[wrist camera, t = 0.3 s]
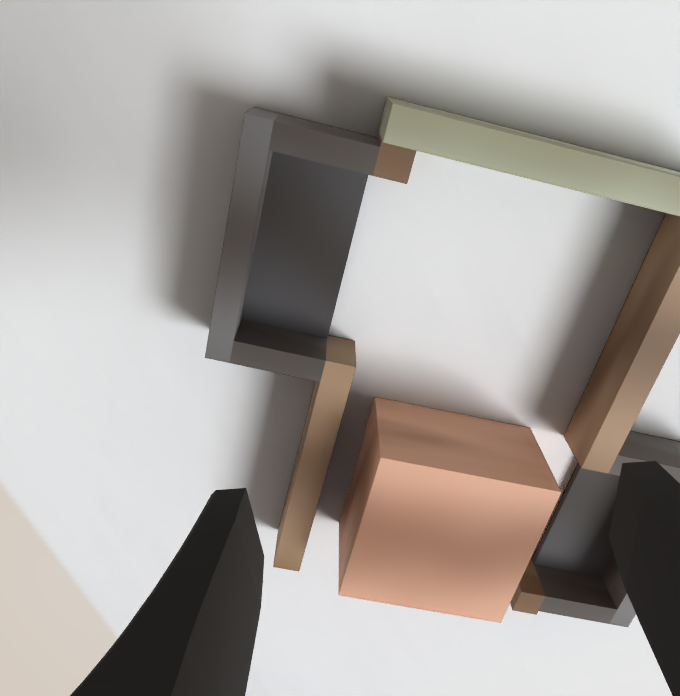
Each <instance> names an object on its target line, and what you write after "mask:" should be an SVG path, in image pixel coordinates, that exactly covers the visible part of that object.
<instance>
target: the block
mask: <svg viewBox="0 0 680 696" xmlns="http://www.w3.org/2000/svg"><path fill="white" fill-rule="evenodd" d="M560 494H561V490H560V488H559V486H558V484H557V482H556V480H555V478H554V476H553V474H552V472H551V470H550V468H549V466H548V463H547V461H546V459H545V457H544V455H543V453H542V451H541V449H540V447H539V445H538V443H537V441H536V439H535V437H534V435H533V433H532V431H531V429H530V428H528V427H523V426H518V425H513V424H508V423H503V422H498V421H493V420H488V419H483V418H478V417H473V416H468V415H463V414H458V413H453V412H448V411H443V410H438V409H433V408H428V407H423V406H418V405H413V404H408V403H403V402H398V401H393V400H388V399H383V398H378V397H375V399H374V403H373V406H372V410H371V413H370V417H369V420H368V424H367V427H366V431H365V434H364V438H363V441H362V444H361V448H360V451H359V455H358V458H357V462H356V465H355V469H354V472H353V476H352V479H351V483H350V486H349V490H348V493H347V497H346V500H345V504H344V507H343V511H342V514H341V518H340V521H339V595H340V596H346V597H352V598H357V599H363V600H369V601H375V602H381V603H387V604H393V605H399V606H405V607H410V608H416V609H422V610H428V611H434V612H440V613H446V614H452V615H458V616H463V617H469V618H475V619H481V620H487V621H493V622H499V623H501V621H502V619H503V617H504V615H505V612H506V610H507V608H508V606H509V604H510V602H511V600H512V597H513V595H514V593H515V591H516V589H517V587H518V585H519V582H520V580H521V578H522V576H523V574H524V572H525V570H526V567H527V565H528V563H529V561H530V559H531V557H532V555H533V552H534V550H535V548H536V546H537V544H538V542H539V540H540V537H541V535H542V533H543V531H544V529H545V527H546V525H547V522H548V520H549V518H550V516H551V514H552V512H553V510H554V507H555V505H556V503H557V501H558V499H559V497H560Z"/></svg>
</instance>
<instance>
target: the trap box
mask: <svg viewBox="0 0 680 696" xmlns="http://www.w3.org/2000/svg"><path fill="white" fill-rule="evenodd" d="M416 151H420V152H424V153H428V154H432V155H436V156H440V157H444V158H448V159H452V160H456V161H460V162H464V163H468V164H472V165H476V166H480V167H484V168H488V169H492V170H496V171H500V172H504V173H508V174H512V175H516V176H520V177H524V178H528V179H532V180H536V181H540V182H544V183H548V184H552V185H556V186H560V187H564V188H568V189H572V190H576V191H580V192H584V193H588V194H592V195H596V196H600V197H604V198H608V199H612V200H616V201H620V202H624V203H628V204H632V205H636V206H640V207H645V208H649V209H653V210H657V211H661V212H665V213H666V214H665V217H664V219H663V221H662V223H661V225H660V227H659V230H658V232H657V234H656V236H655V238H654V241H653V243H652V245H651V247H650V249H649V251H648V254H647V256H646V258H645V260H644V262H643V264H642V267H641V269H640V271H639V273H638V275H637V278H636V280H635V282H634V284H633V286H632V288H631V291H630V293H629V295H628V297H627V299H626V302H625V304H624V306H623V308H622V310H621V312H620V315H619V317H618V319H617V321H616V323H615V326H614V328H613V330H612V332H611V334H610V336H609V339H608V341H607V343H606V345H605V347H604V349H603V352H602V354H601V356H600V358H599V360H598V363H597V365H596V367H595V369H594V371H593V373H592V376H591V378H590V380H589V382H588V384H587V387H586V389H585V391H584V393H583V395H582V397H581V400H580V402H579V404H578V406H577V408H576V410H575V413H574V415H573V417H572V419H571V421H570V424H569V426H568V428H567V430H566V432H565V434H564V438H565V440H566V442H567V443H568V445H569V447H570V449H571V450H572V452H573V454H574V456H575V458H576V459H577V461H578V464H577V466H576V469H575V471H574V473H573V475H572V477H571V479H570V481H569V483H568V485H567V487H566V489H565V491H564V493H563V496H562V498H561V500H560V502H559V504H558V506H557V508H556V510H555V512H554V514H553V516H552V518H551V521H550V523H549V525H548V527H547V529H546V531H545V533H544V535H543V537H542V539H541V541H540V543H539V545H538V548H537V550H536V552H535V554H534V556H533V558H532V559H530V561H529V563H528V565H527V567H526V570H525V572H524V574H523V576H522V578H521V580H520V582H519V585H518V587H517V589H516V591H515V593H514V595H513V597H512V600H511V602H510V603H511V607H512V610H514V611H520V612H525V613H531V614H537V612H538V611H541V612H547V613H552V614H558V615H563V616H569V617H574V618H580V619H585V620H591V621H596V622H602V623H607V624H613V625H618V626H624V627H628V626H629V624H630V623H631V621H632V619H633V618H634V616H635V614H636V612H635V610H634V608H633V606H632V603H631V601H630V599H629V597H628V594H627V592H626V590H625V587H624V584H623V581H622V578H621V575H620V572H619V568H618V565H617V562H616V559H615V555H614V552H613V549H612V545H611V542H610V539H609V532H610V526H611V521H612V516H613V510H614V505H615V500H616V494H617V489H618V483H619V478H620V473H621V467H622V463H630V462H645V461H656V462H658V463H659V464H660V465H661V466H662V467H663V468H664V469H665V470H666V471H667V472H668V473H669V474H671V475H672V476H673V477H674V478H675V479H676V480H677V481H678V482H679V483H680V442H678V441H674V440H669V439H664V438H660V437H655V436H650V435H646V434H641V433H636V432H632V431H630V430H631V428H632V426H633V424H634V422H635V420H636V418H637V416H638V414H639V412H640V410H641V408H642V406H643V404H644V402H645V400H646V398H647V396H648V395H649V393H650V391H651V389H652V387H653V385H654V383H655V381H656V379H657V377H658V375H659V373H660V371H661V369H662V367H663V365H664V363H665V361H666V359H667V357H668V355H669V353H670V351H671V349H672V347H673V345H674V343H675V342H676V340H677V338H678V336H679V334H680V172H679V171H675V170H671V169H667V168H663V167H659V166H655V165H651V164H647V163H644V162H640V161H636V160H632V159H628V158H624V157H620V156H616V155H612V154H608V153H605V152H601V151H597V150H593V149H589V148H585V147H581V146H577V145H573V144H570V143H566V142H562V141H558V140H554V139H550V138H546V137H542V136H538V135H534V134H531V133H527V132H523V131H519V130H515V129H511V128H507V127H503V126H499V125H495V124H492V123H488V122H484V121H480V120H476V119H472V118H468V117H464V116H460V115H457V114H453V113H449V112H445V111H441V110H437V109H433V108H429V107H425V106H421V105H418V104H414V103H410V102H406V101H402V100H398V99H394V98H390V97H387V99H386V103H385V107H384V111H383V115H382V119H381V123H380V127H379V131H378V135H377V138H376V137H372V136H368V135H364V134H360V133H356V132H352V131H348V130H344V129H340V128H336V127H332V126H328V125H324V124H320V123H316V122H312V121H308V120H304V119H300V118H296V117H292V116H288V115H284V114H280V113H276V112H272V111H268V110H264V109H260V108H256V107H253V108H252V109H251V110H249V111H248V112H246V113H245V116H244V122H243V128H242V134H241V140H240V146H239V152H238V158H237V164H236V171H235V177H234V183H233V189H232V195H231V201H230V207H229V213H228V219H227V226H226V232H225V238H224V244H223V250H222V256H221V262H220V268H219V274H218V281H217V287H216V293H215V299H214V305H213V311H212V317H211V323H210V329H209V336H208V342H207V348H206V354H205V358H209V359H214V360H218V361H223V362H228V363H233V364H237V365H242V366H247V367H252V368H256V369H261V370H266V371H270V372H275V373H280V374H285V375H289V376H294V377H299V378H304V379H308V380H313V381H316V382H315V386H314V390H313V394H312V398H311V402H310V406H309V410H308V414H307V418H306V422H305V426H304V430H303V434H302V438H301V442H300V446H299V450H298V454H297V458H296V462H295V465H294V469H293V473H292V477H291V481H290V485H289V489H288V493H287V497H286V501H285V505H284V509H283V513H282V517H281V521H280V525H279V529H278V535H277V543H276V550H275V558H274V565H273V567H277V568H283V569H288V570H294V571H299V570H300V566H301V563H302V559H303V555H304V552H305V548H306V545H307V541H308V538H309V534H310V530H311V527H312V523H313V520H314V516H315V512H316V509H317V505H318V502H319V498H320V494H321V491H322V487H323V484H324V480H325V477H326V473H327V469H328V466H329V462H330V459H331V455H332V451H333V448H334V444H335V441H336V437H337V433H338V430H339V426H340V423H341V419H342V416H343V412H344V408H345V405H346V401H347V398H348V394H349V390H350V387H351V383H352V380H353V376H354V372H355V369H356V355H355V341H352V340H347V339H342V338H338V337H333V336H329V335H328V333H329V329H330V325H331V321H332V317H333V313H334V309H335V305H336V301H337V297H338V293H339V289H340V285H341V281H342V277H343V273H344V269H345V265H346V261H347V257H348V253H349V249H350V245H351V241H352V237H353V233H354V229H355V225H356V221H357V217H358V213H359V210H360V206H361V202H362V198H363V194H364V190H365V186H366V182H367V178H368V175H372V176H376V177H380V178H384V179H388V180H393V181H397V182H401V183H405V184H407V182H408V179H409V175H410V171H411V168H412V164H413V161H414V157H415V154H416Z"/></svg>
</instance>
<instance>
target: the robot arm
mask: <svg viewBox="0 0 680 696" xmlns="http://www.w3.org/2000/svg"><path fill="white" fill-rule="evenodd" d="M609 539H610V542H611V545H612V549H613V552H614V555H615V559H616V562H617V565H618V568H619V572H620V575H621V578H622V581H623V584H624V587H625V590H626V592H627V594H628V597H629V599H630V601H631V603H632V606H633V608H634V610H635V612H636V615H637V617H638V619H639V622H640V624H641V626H642V628H643V631H644V633H645V635H646V637H647V639H648V642H649V644H650V646H651V648H652V651H653V653H654V655H655V657H656V659H657V662H658V664H659V666H660V668H661V671H662V673H663V675H664V677H665V679H666V682H667V684H668V686H669V688H670V691H671V693H672V695H673V696H680V483H679V482H678V481H677V480H676V479H675V478H674V477H673V476H672V475H671V474H669V473H668V472H667V471H666V470H665V469H664V468H663V467H662V466H661V465H660V464H659V463H658V462H656V461H645V462H630V463H622V467H621V473H620V478H619V483H618V489H617V494H616V500H615V505H614V510H613V516H612V521H611V526H610V532H609ZM263 567H264V554H263V550H262V546H261V543H260V539H259V535H258V531H257V527H256V524H255V520H254V516H253V512H252V509H251V505H250V501H249V497H248V493H247V490H246V488H241V489H226V490H216V491H215V492H214V493H213V494H212V495H211V496H210V498H209V500H208V502H207V504H206V505H205V507H204V509H203V511H202V512H201V514H200V516H199V518H198V519H197V521H196V523H195V525H194V526H193V528H192V530H191V531H190V533H189V535H188V536H187V538H186V540H185V541H184V543H183V545H182V546H181V548H180V550H179V551H178V553H177V554H176V556H175V557H174V559H173V561H172V562H171V564H170V565H169V567H168V568H167V570H166V571H165V573H164V574H163V576H162V578H161V579H160V581H159V582H158V584H157V585H156V587H155V588H154V590H153V591H152V593H151V594H150V595H149V597H148V598H147V599H146V601H145V602H144V604H143V605H142V606H141V608H140V609H139V611H138V612H137V613H136V615H135V616H134V618H133V619H132V620H131V622H130V623H129V625H128V626H127V627H126V629H125V630H124V631H123V633H122V634H121V635H120V637H119V638H118V639H117V640H116V642H115V643H114V644H113V646H112V647H111V648H110V649H109V651H108V652H107V653H106V654H105V656H104V657H103V658H102V659H101V660H100V662H99V663H98V664H97V665H96V667H95V668H94V669H93V670H92V671H91V673H90V674H89V675H88V676H87V677H86V678H85V680H84V681H83V682H82V683H81V684H80V685H79V686H78V687H77V688H76V690H75V691H74V692H73V693H72V694H71V695H70V696H245V692H246V687H247V682H248V676H249V671H250V665H251V660H252V654H253V649H254V643H255V637H256V632H257V626H258V620H259V615H260V609H261V597H262V584H263Z"/></svg>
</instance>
